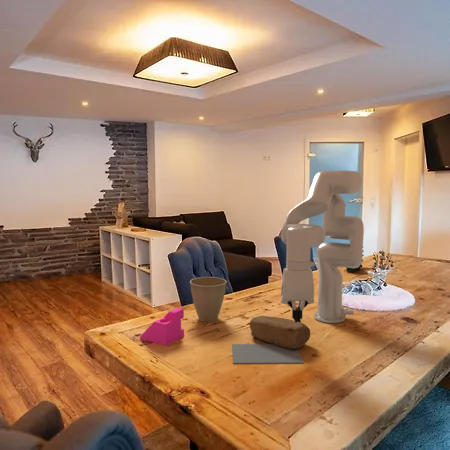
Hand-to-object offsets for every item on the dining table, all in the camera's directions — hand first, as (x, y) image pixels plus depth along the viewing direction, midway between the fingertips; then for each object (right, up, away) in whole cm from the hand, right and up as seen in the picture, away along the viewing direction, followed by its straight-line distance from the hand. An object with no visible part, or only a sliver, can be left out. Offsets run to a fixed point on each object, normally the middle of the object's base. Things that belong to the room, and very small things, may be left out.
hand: (297, 320), depth 126 cm
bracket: (-46, -10, +15) cm, 50 cm away
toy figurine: (+58, +2, +121) cm, 134 cm away
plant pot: (-30, -8, +34) cm, 46 cm away
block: (+3, -6, +4) cm, 8 cm away
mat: (-10, -11, +1) cm, 15 cm away
